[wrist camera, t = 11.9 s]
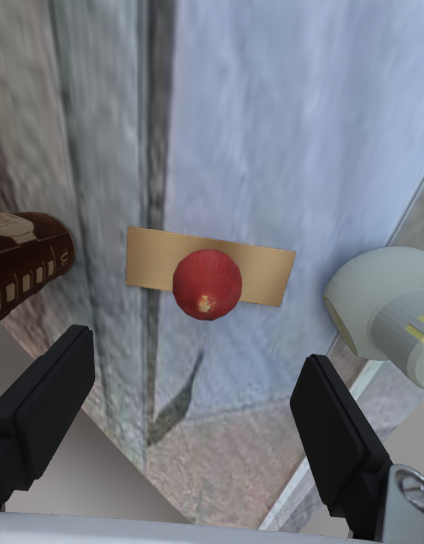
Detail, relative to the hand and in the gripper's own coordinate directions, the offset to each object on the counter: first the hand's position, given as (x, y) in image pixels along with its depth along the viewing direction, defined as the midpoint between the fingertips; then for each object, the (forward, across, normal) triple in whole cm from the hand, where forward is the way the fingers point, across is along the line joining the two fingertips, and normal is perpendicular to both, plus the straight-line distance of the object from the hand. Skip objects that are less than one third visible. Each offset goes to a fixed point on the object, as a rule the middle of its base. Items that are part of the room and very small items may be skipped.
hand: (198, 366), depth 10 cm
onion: (+14, 0, +1) cm, 14 cm away
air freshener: (+14, -16, +1) cm, 22 cm away
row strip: (+14, 0, +1) cm, 14 cm away
